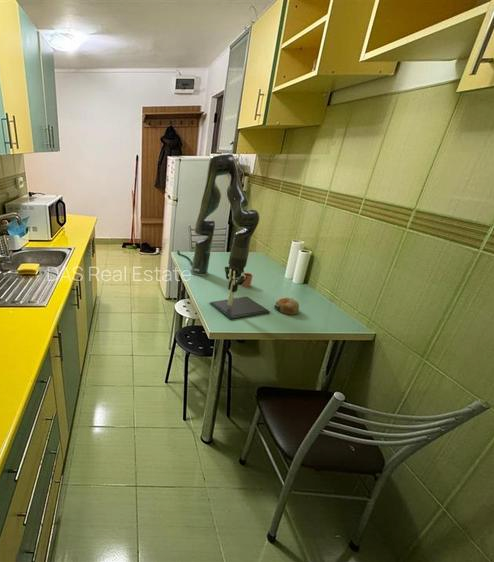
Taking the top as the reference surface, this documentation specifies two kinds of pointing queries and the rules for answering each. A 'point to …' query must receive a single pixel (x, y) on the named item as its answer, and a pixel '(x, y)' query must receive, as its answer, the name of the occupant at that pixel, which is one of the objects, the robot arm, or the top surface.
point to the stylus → (230, 295)
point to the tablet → (239, 308)
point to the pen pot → (247, 280)
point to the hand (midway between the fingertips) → (232, 290)
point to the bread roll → (287, 306)
